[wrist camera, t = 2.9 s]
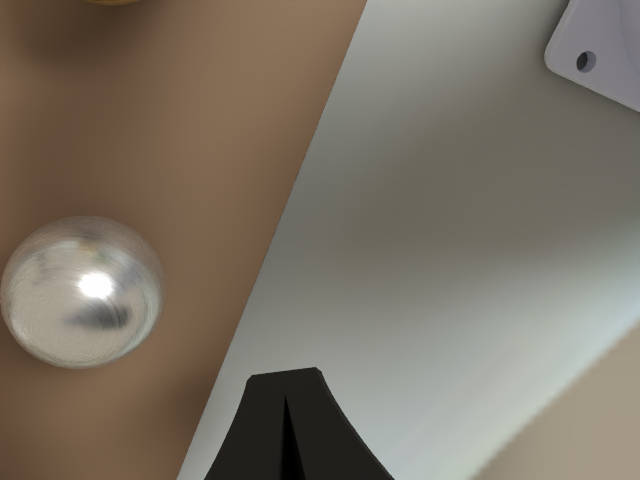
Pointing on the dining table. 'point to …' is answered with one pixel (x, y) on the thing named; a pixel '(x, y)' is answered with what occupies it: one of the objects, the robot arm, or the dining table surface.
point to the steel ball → (82, 292)
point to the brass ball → (111, 2)
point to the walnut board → (152, 197)
